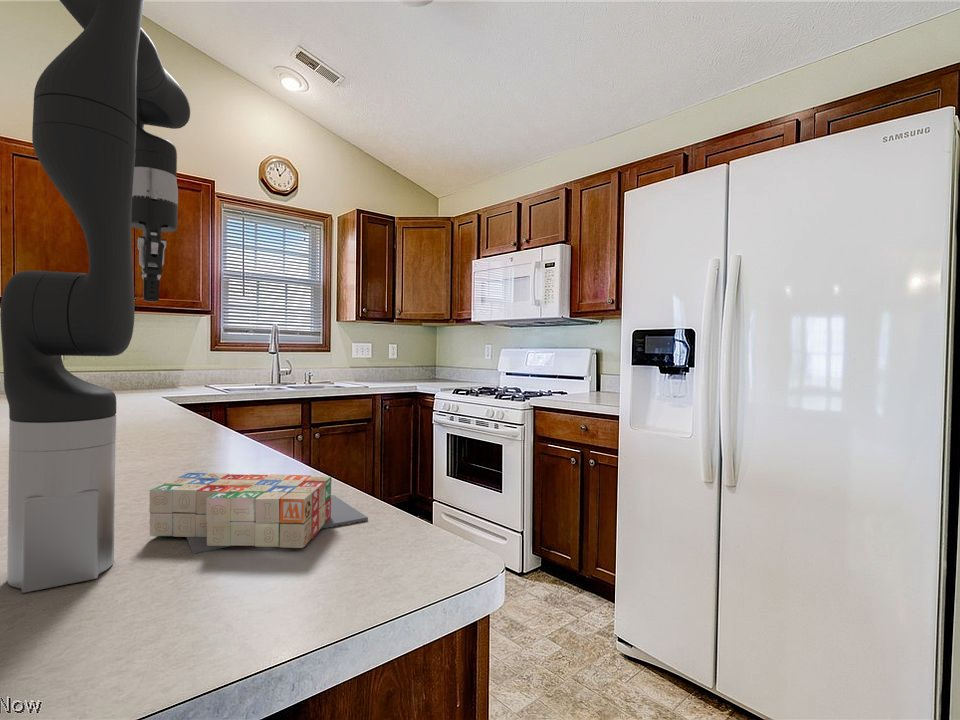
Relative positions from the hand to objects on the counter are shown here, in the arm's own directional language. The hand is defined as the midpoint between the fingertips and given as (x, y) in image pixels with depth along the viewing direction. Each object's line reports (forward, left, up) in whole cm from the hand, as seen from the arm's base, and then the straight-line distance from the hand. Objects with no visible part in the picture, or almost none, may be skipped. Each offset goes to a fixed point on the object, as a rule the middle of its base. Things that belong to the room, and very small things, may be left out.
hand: (150, 301), depth 88 cm
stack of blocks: (-25, -12, -29) cm, 40 cm away
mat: (-27, -14, -33) cm, 45 cm away
